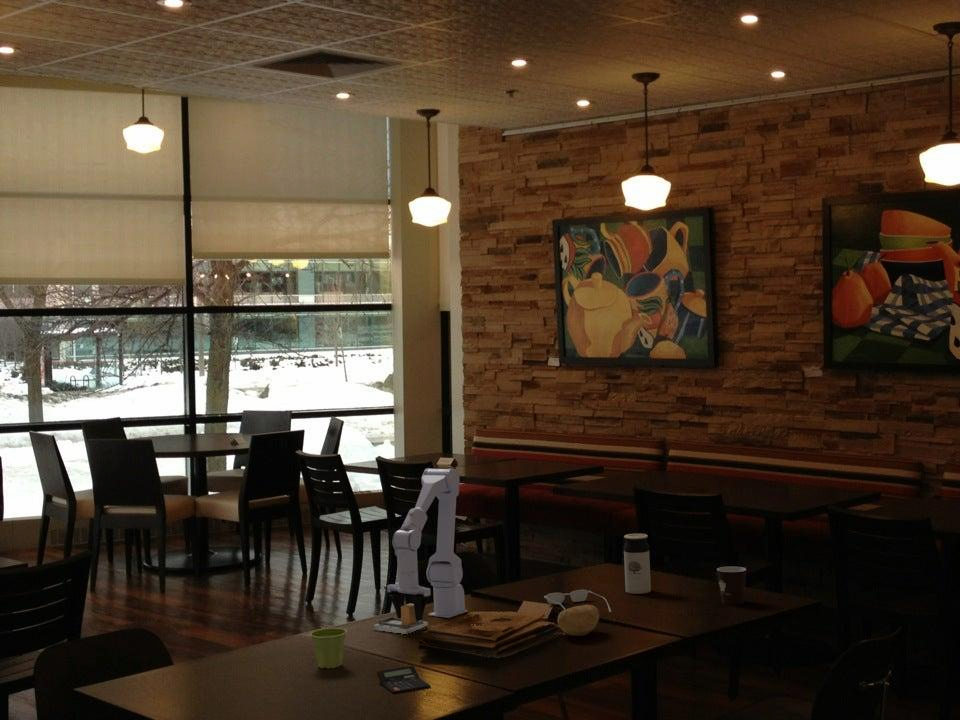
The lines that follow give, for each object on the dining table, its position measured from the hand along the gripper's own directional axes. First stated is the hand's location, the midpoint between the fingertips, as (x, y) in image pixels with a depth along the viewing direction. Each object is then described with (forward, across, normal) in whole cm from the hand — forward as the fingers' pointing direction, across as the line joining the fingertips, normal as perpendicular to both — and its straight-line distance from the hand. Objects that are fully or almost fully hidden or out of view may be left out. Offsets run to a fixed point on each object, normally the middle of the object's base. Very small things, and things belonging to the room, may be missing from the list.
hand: (409, 618), depth 337 cm
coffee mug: (+3, +66, +72) cm, 98 cm away
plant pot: (+3, +6, -39) cm, 40 cm away
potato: (+3, +46, +17) cm, 50 cm away
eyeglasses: (+4, +29, +44) cm, 53 cm away
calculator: (+4, +34, -43) cm, 55 cm away
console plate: (+3, -4, 0) cm, 5 cm away
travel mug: (+3, +34, +72) cm, 80 cm away
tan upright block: (+2, 0, 0) cm, 2 cm away
